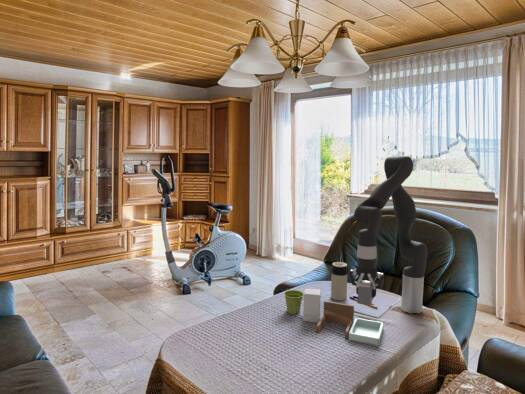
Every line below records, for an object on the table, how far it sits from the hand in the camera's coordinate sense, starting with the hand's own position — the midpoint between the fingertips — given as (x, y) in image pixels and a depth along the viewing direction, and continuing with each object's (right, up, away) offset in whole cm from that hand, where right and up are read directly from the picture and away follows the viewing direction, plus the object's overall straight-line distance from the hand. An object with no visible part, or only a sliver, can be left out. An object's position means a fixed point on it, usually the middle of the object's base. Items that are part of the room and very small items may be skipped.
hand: (366, 296), depth 156 cm
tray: (+1, -17, +2) cm, 17 cm away
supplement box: (-20, -15, +17) cm, 30 cm away
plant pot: (-27, -14, +25) cm, 40 cm away
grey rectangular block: (0, -2, 0) cm, 1 cm away
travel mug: (-3, -12, +41) cm, 43 cm away
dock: (-11, -16, +7) cm, 21 cm away
